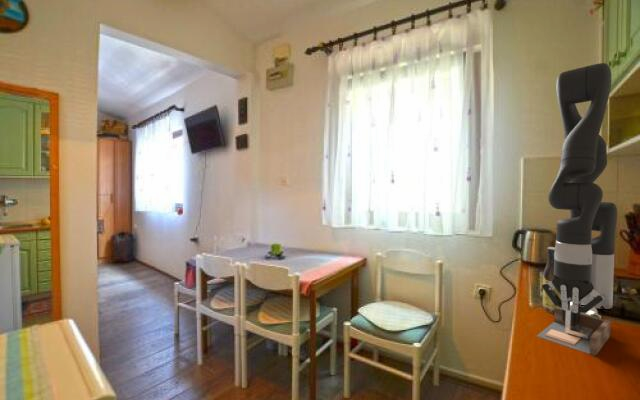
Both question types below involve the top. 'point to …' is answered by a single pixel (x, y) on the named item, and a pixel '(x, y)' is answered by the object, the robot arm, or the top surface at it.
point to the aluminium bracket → (578, 329)
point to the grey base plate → (565, 337)
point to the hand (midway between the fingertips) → (570, 324)
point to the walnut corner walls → (595, 323)
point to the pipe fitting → (591, 312)
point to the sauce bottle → (547, 278)
